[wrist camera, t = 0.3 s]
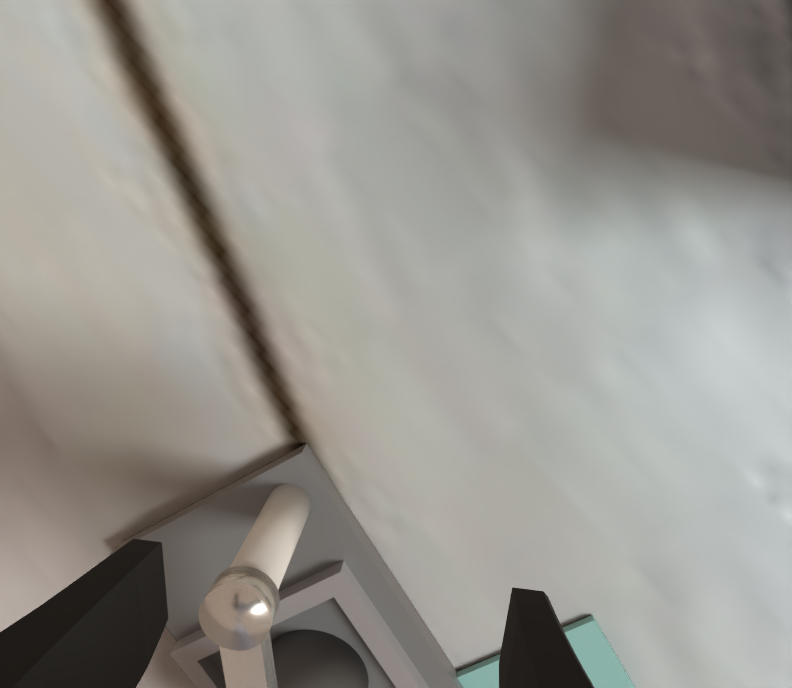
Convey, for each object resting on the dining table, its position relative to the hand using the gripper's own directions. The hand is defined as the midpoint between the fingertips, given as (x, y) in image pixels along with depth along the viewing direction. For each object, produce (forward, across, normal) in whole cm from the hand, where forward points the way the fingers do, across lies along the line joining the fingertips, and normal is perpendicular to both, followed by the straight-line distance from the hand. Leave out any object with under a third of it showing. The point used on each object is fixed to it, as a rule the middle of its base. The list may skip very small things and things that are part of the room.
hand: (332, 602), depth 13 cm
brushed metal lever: (+3, +3, +8) cm, 9 cm away
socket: (+9, +3, +11) cm, 15 cm away
